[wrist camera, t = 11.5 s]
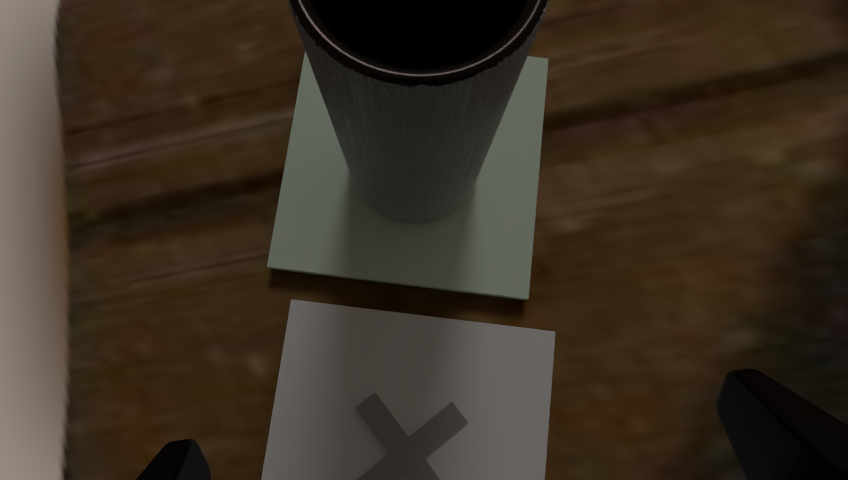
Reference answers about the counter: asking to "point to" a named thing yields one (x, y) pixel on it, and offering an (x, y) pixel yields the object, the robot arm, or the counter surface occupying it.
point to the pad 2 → (408, 398)
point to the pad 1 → (413, 242)
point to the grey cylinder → (416, 91)
